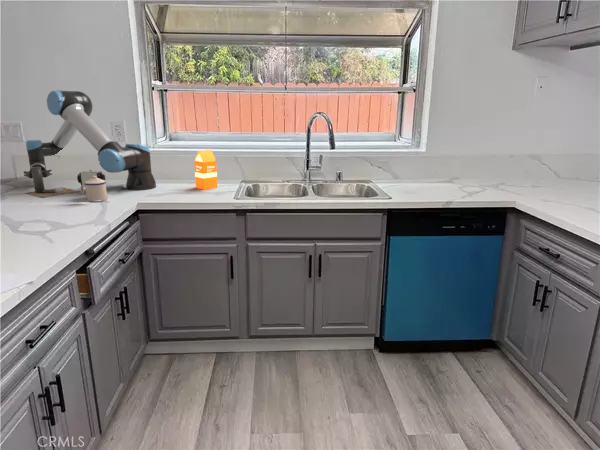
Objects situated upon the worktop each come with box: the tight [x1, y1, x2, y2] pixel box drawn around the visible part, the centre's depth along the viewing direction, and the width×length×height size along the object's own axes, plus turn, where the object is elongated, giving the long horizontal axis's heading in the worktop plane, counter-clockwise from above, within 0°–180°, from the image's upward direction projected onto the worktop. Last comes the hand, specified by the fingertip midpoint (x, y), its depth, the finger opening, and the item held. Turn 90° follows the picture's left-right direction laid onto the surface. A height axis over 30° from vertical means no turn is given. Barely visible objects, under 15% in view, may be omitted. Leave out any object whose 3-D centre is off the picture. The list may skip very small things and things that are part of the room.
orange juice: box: [194, 149, 218, 191], centre depth 222 cm, size 8×9×20 cm
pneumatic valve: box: [76, 169, 106, 187], centre depth 204 cm, size 6×12×12 cm, turn 94°
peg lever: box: [31, 167, 64, 193], centre depth 200 cm, size 13×4×12 cm, turn 96°
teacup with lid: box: [79, 176, 108, 204], centre depth 190 cm, size 12×9×12 cm
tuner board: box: [24, 187, 81, 199], centre depth 202 cm, size 18×18×1 cm
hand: (38, 177), depth 205 cm, fingers closed
